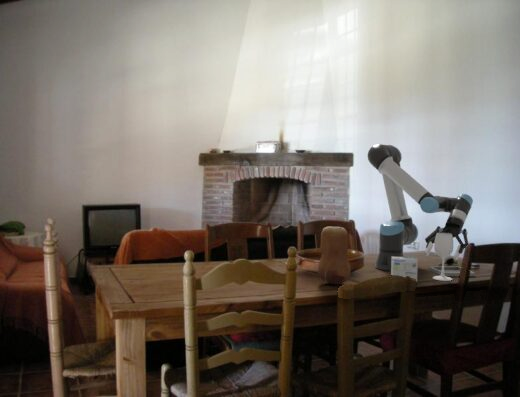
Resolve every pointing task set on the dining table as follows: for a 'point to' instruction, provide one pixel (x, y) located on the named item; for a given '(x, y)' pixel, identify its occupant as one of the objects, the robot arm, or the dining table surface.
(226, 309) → the dining table surface
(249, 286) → the dining table surface
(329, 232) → the butternut squash
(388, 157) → the robot arm
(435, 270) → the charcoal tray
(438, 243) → the wineglass
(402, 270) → the light bulb box
